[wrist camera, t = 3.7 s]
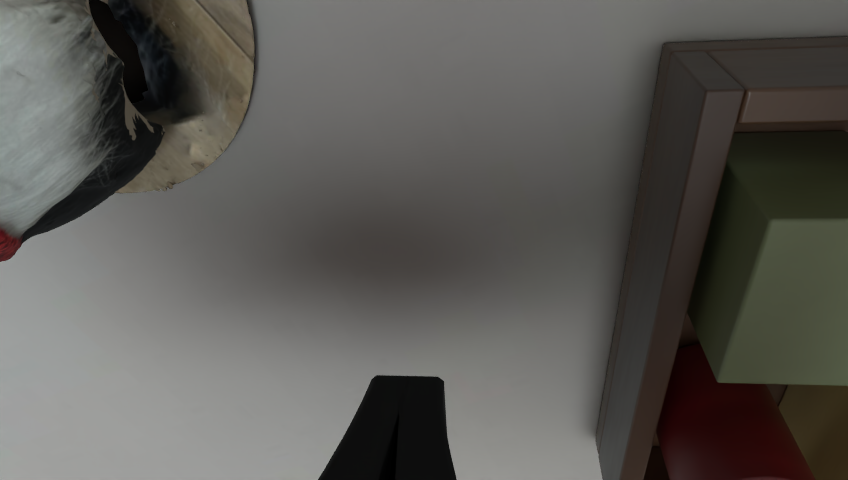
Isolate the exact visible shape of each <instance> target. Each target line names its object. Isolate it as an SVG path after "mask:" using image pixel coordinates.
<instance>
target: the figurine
mask: <svg viewBox="0 0 848 480" xmlns="http://www.w3.org/2000/svg"><path fill="white" fill-rule="evenodd" d="M100 1H102V2H104V3H107V4H108V5H109V7H110V9H111V11H112V13H113V16H114V19H116V20H118V21H121V22H122V24H123V26H124V28H125V31H126V32H127V33H128V34H129V36H130V37H131V38H132V39H133V41H134V42H135V43H136V45H137V46H138V53H139V57H140V60H141V63H142V66H143V68H144V73H145V78H146V83H147V86H148V91H146V92H144V93H142V95H143V97H144V99H143V100H142V101H141V102H137V103H133V104H132V103H131V102H130V101H129V99H128V97H127V95H126V92H125V88H124V84H123V71H124V63H123V62H122V60H120V59H119V58H118V56H117V55H116V54H115V53H114V52H113V51H112V50H111V49H110V48H109V46H108V45H107V44H106V42H105V40H104V39H103V37H102V35H101V33H100V32H99V30H98V28H97V26H96V25H95V23H94V20H93V18H92V16H91V13H90V8H89V0H0V262H1V261H6V260H8V259H10V258H12V256H13V255H15V253H16V251H17V250H18V249H19V248H20V247H21V245H22V243H23V242H25V241H26V240H27V239H29V238H30V237H32V236H35V235H38V234H41V233H44V232H48V231H50V230H52V229H55V228H57V227H59V226H62V225H64V224H66V223H68V222H70V221H72V220H74V219H76V218H78V217H80V216H82V215H83V214H85V213H86V212H88V211H89V210H91V209H93V208H94V207H96V206H97V205H99V204H100V203H101V202H103V201H104V200H106V199H107V198H108V197H109V196H111V195H113V194H114V193H137V192H147V191H153V190H156V191H161V190H160V189H162V188H163V191H166V190H167V188H166V187H169V189H172V188H173V185H174V184H176V183H180V182H183V181H185V180H187V179H189V178H191V177H193V176H195V175H197V174H198V173H200V172H201V171H203V170H204V169H205V168H207V167H208V166H209V165H210V164H212V163H213V162H214V161H215V160H216V159H217V158H218V157H219V156H220V155H221V154H222V153H223V152H224V151H225V149H226V148H227V147H228V145H229V144H230V143H231V141H232V140H233V138H234V137H235V135H236V133H237V131H238V129H239V127H240V125H241V122H242V121H243V118H244V116H245V113H246V110H247V107H248V103H249V99H250V94H251V89H252V82H253V73H254V72H255V69H254V57H255V53H254V47H255V45H254V36H253V28H252V22H251V18H250V15H249V12H248V7H249V6H247V2H246V0H100ZM220 143H221V144H220Z"/></svg>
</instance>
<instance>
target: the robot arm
mask: <svg viewBox="0 0 848 480" xmlns="http://www.w3.org/2000/svg"><path fill="white" fill-rule="evenodd" d="M318 480H457V479H456V475H455V471H454V467H453V462H452V458H451V454H450V449H449V444H448V438H447V427H446V410H445V393H444V381H443V380H442V379H440V378H439V377H425V376H383V375H377V376H375V377H374V378H373V379H372V380H371V382H370V384H369V387H368V389H367V391H366V394H365V396H364V398H363V400H362V402H361V404H360V406H359V408H358V410H357V412H356V414H355V416H354V418H353V420H352V422H351V424H350V426H349V428H348V429H347V431H346V433H345V435H344V437H343V439H342V440H341V442H340V444H339V445H338V447H337V449H336V451H335V452H334V454H333V456H332V457H331V459H330V461H329V463H328V464H327V466H326V468H325V469H324V471H323V473H322V474H321V476H320V477H319V479H318Z"/></svg>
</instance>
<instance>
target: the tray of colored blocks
mask: <svg viewBox="0 0 848 480" xmlns="http://www.w3.org/2000/svg"><path fill="white" fill-rule="evenodd" d="M596 445H597V450H598V454H599V462H600V467H601V473H602V478H603V480H848V37H828V38H799V39H771V40H742V41H713V42H685V43H667V44H664V46H663V50H662V56H661V61H660V67H659V73H658V79H657V85H656V91H655V96H654V102H653V108H652V114H651V120H650V126H649V131H648V137H647V143H646V149H645V155H644V161H643V166H642V172H641V178H640V184H639V190H638V196H637V201H636V207H635V213H634V219H633V225H632V231H631V236H630V242H629V248H628V254H627V260H626V265H625V271H624V277H623V283H622V289H621V295H620V300H619V306H618V312H617V318H616V324H615V330H614V335H613V341H612V347H611V353H610V359H609V365H608V370H607V376H606V382H605V388H604V394H603V400H602V405H601V411H600V417H599V423H598V429H597V435H596Z"/></svg>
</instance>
